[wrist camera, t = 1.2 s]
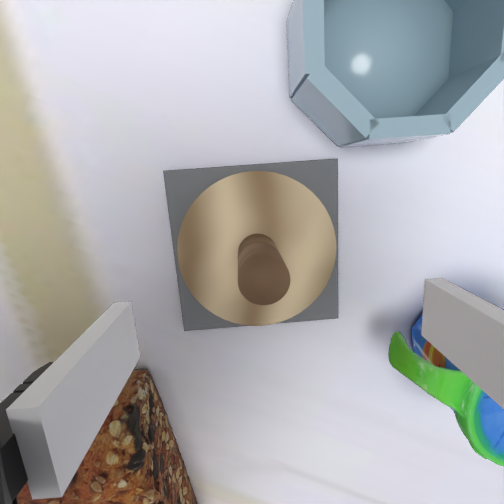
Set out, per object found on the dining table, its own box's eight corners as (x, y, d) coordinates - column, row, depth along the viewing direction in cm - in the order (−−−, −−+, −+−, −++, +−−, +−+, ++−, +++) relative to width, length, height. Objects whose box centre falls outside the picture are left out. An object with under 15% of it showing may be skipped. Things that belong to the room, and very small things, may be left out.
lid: (189, 325, 29) (170, 383, 21) (170, 176, 26) (139, 178, 18) (332, 313, 29) (368, 366, 21) (331, 165, 26) (372, 161, 18)
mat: (185, 327, 29) (184, 330, 29) (164, 171, 26) (163, 170, 25) (336, 315, 30) (338, 318, 29) (335, 158, 26) (337, 158, 26)
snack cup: (543, 298, 30) (692, 359, 20) (497, 393, 32) (610, 489, 23) (390, 260, 29) (470, 306, 19) (353, 362, 31) (406, 451, 21)
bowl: (291, 150, 26) (306, 143, 20) (284, -43, 23) (300, -117, 17) (450, 139, 26) (511, 129, 20) (465, -53, 23) (541, -129, 17)
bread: (48, 382, 30) (-42, 480, 21) (157, 359, 30) (119, 446, 20) (110, 528, 35) (61, 665, 25) (206, 508, 35) (193, 637, 25)
